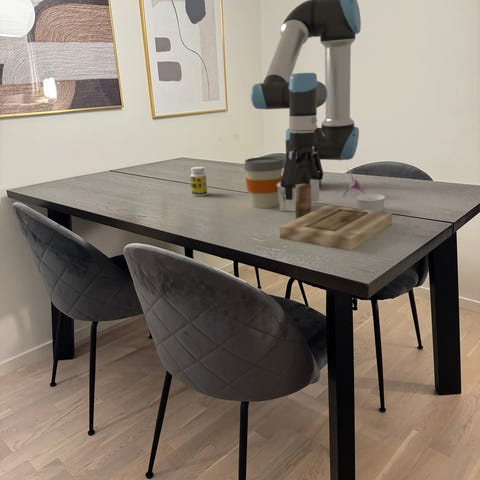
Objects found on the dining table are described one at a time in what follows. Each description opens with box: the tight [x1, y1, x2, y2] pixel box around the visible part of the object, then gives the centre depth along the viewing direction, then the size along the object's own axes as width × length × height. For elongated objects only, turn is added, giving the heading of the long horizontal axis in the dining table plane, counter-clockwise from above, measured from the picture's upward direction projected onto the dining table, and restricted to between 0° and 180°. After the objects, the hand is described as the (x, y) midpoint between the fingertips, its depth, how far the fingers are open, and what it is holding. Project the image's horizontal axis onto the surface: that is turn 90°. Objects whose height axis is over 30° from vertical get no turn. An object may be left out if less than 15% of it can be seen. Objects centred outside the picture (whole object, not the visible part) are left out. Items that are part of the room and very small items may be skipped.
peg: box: [295, 184, 312, 219], centre depth 140 cm, size 4×4×10 cm
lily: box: [342, 166, 366, 198], centre depth 165 cm, size 12×12×10 cm
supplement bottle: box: [190, 166, 208, 197], centre depth 178 cm, size 6×6×10 cm
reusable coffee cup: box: [244, 156, 284, 209], centre depth 157 cm, size 13×13×15 cm
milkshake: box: [277, 182, 288, 212], centre depth 150 cm, size 4×5×10 cm
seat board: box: [279, 204, 393, 251], centre depth 128 cm, size 20×26×3 cm
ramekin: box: [355, 193, 387, 212], centre depth 147 cm, size 9×9×4 cm
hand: (303, 205), depth 140 cm, fingers open, 13 cm apart
